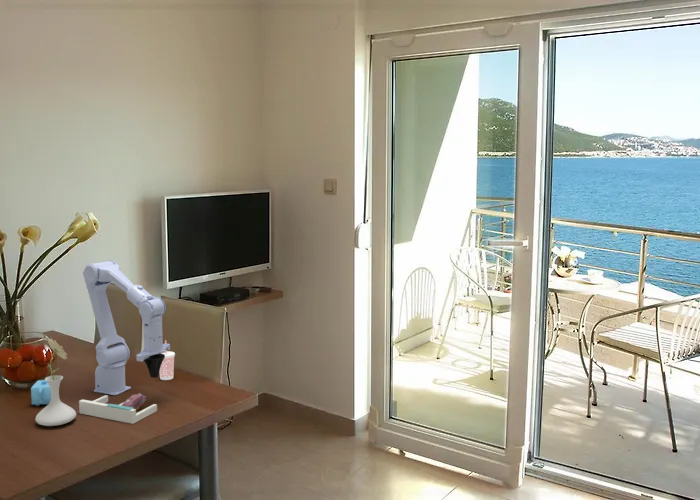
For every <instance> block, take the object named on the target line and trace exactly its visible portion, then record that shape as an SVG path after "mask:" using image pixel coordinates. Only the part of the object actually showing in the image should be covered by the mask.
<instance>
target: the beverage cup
mask: <svg viewBox="0 0 700 500" xmlns="http://www.w3.org/2000/svg"><path fill="white" fill-rule="evenodd" d="M165 343H166V344H168V343H167V340H166V339H165V340H164V344H165ZM162 354H164V355H165V358H164V360H163V362H162V364H161V367H160V371H159V378H160V380H162V381H169V380H172V379H174V369H175V366H174V365H175V356H176V353H175V352H174V351H170V350H166V351H165V353H162Z"/></svg>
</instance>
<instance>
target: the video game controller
mask: <svg viewBox="0 0 700 500" xmlns="http://www.w3.org/2000/svg"><path fill="white" fill-rule="evenodd" d="M146 400H147V396H145V395H144V394H142V393H140V392H139V393H138V394H131V396H129V398H127V399H126V400H125V401H123V402H124V403H123V402H122V403H123V404H122V405H121V406H126V407H131V408H133V409H136V412H138V411H139V409H140V407H141V406H142V405H143V404H144V403H145V402H146Z"/></svg>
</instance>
